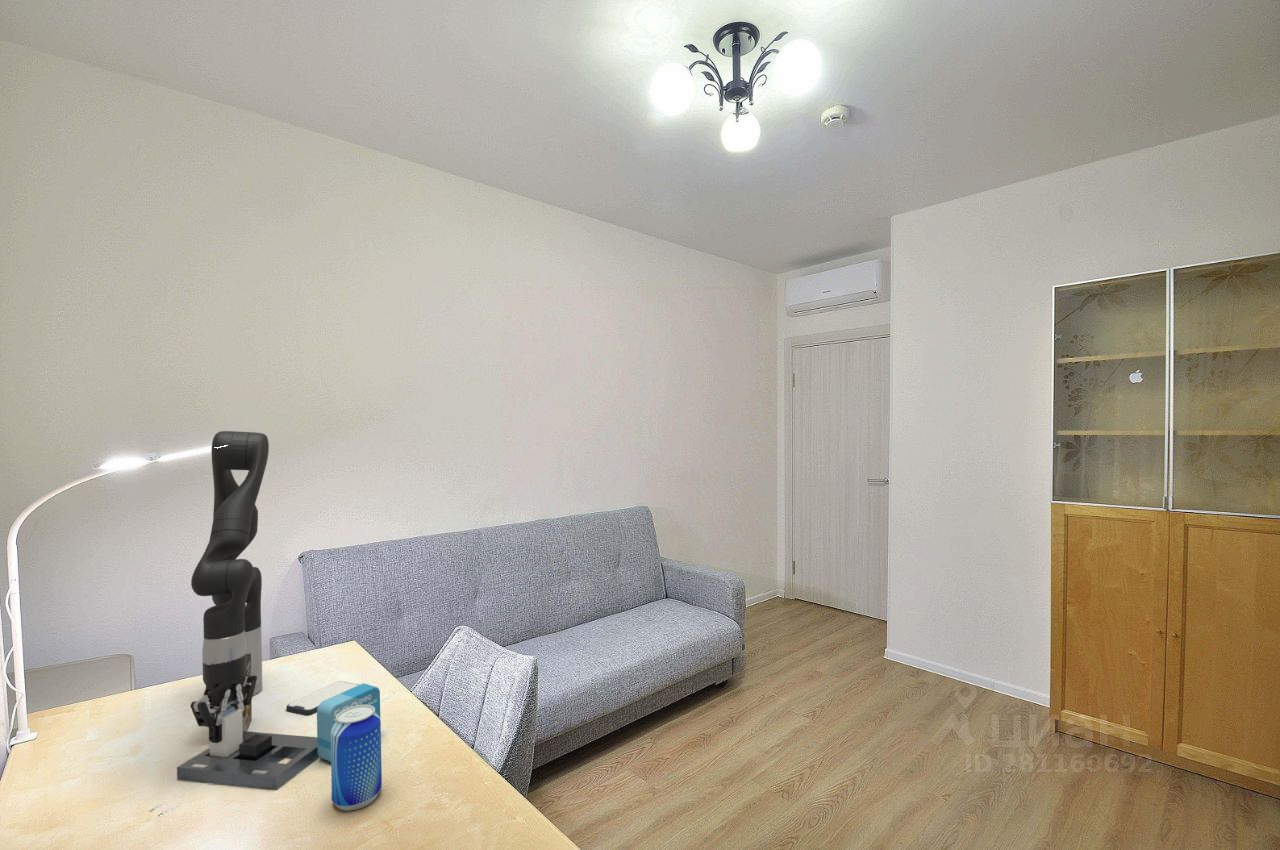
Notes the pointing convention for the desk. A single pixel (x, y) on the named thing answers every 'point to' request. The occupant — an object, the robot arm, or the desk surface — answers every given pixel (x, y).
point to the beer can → (356, 757)
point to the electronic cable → (175, 806)
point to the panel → (254, 762)
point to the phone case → (318, 698)
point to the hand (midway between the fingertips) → (226, 735)
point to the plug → (229, 733)
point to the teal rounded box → (335, 705)
